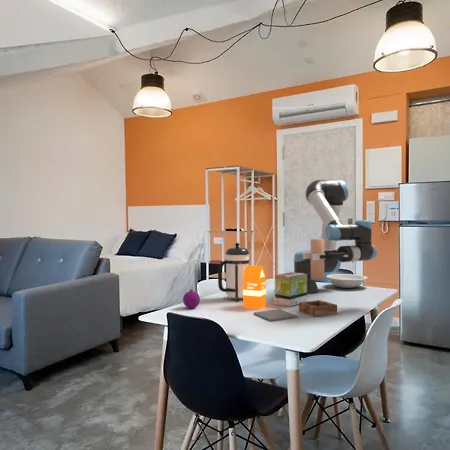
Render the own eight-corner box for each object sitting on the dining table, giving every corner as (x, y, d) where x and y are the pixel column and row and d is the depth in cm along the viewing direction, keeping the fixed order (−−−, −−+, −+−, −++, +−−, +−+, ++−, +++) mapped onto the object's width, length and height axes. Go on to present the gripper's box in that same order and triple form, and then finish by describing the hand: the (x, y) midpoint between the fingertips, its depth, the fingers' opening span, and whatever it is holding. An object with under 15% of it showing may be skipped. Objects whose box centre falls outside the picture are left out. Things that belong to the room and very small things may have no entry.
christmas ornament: (183, 310, 187) (183, 289, 186) (182, 306, 195) (182, 286, 194) (201, 309, 188) (200, 288, 188) (199, 305, 196) (198, 285, 196)
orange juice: (249, 304, 198) (248, 264, 198) (265, 305, 194) (265, 265, 194) (243, 307, 191) (242, 266, 191) (260, 309, 187) (259, 266, 187)
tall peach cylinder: (308, 278, 181) (307, 239, 180) (318, 277, 183) (318, 238, 183) (316, 280, 175) (316, 239, 175) (327, 279, 178) (327, 239, 177)
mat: (253, 314, 178) (253, 312, 178) (280, 310, 184) (280, 309, 184) (270, 321, 165) (270, 319, 165) (298, 317, 171) (298, 315, 171)
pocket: (298, 311, 182) (298, 302, 182) (319, 308, 188) (319, 299, 187) (315, 317, 172) (315, 307, 171) (337, 313, 177) (337, 304, 177)
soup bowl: (370, 291, 228) (370, 280, 228) (327, 290, 232) (327, 279, 232) (363, 284, 251) (363, 274, 251) (324, 283, 256) (324, 273, 256)
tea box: (291, 307, 191) (291, 276, 191) (274, 304, 198) (273, 274, 197) (307, 302, 202) (307, 273, 202) (290, 299, 209) (290, 271, 208)
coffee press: (225, 295, 220) (224, 241, 219) (253, 296, 217) (253, 241, 216) (218, 302, 203) (217, 243, 202) (249, 303, 200) (248, 243, 199)
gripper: (363, 263, 178) (322, 267, 168) (334, 259, 196) (295, 262, 185) (363, 247, 178) (322, 249, 168) (334, 244, 195) (295, 246, 185)
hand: (308, 256), depth 177 cm, fingers closed on tall peach cylinder, 6 cm apart
